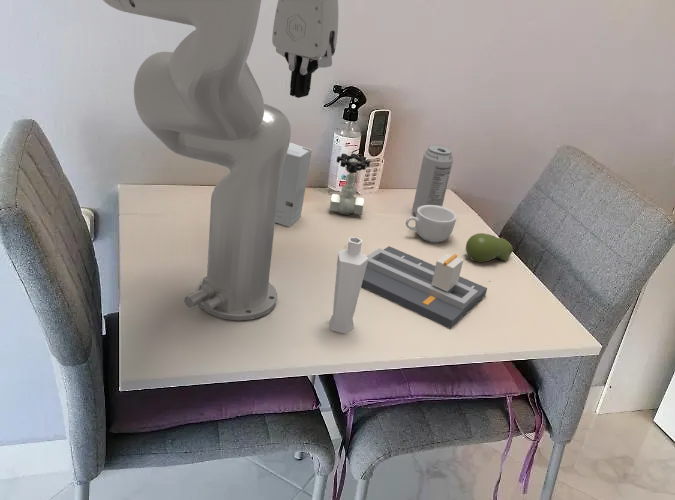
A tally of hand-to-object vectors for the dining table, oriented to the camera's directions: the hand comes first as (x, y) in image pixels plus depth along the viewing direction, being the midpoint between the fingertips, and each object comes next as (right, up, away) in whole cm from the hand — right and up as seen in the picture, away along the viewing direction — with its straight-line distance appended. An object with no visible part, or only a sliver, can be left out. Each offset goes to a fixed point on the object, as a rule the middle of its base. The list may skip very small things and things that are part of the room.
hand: (299, 95), depth 115 cm
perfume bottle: (+7, -38, -10) cm, 40 cm away
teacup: (+24, -24, +21) cm, 40 cm away
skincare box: (-5, -20, +20) cm, 29 cm away
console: (+20, -33, +3) cm, 38 cm away
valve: (+8, -19, +26) cm, 33 cm away
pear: (+35, -28, +17) cm, 48 cm away
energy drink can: (+25, -19, +30) cm, 44 cm away
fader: (+24, -33, 0) cm, 41 cm away
